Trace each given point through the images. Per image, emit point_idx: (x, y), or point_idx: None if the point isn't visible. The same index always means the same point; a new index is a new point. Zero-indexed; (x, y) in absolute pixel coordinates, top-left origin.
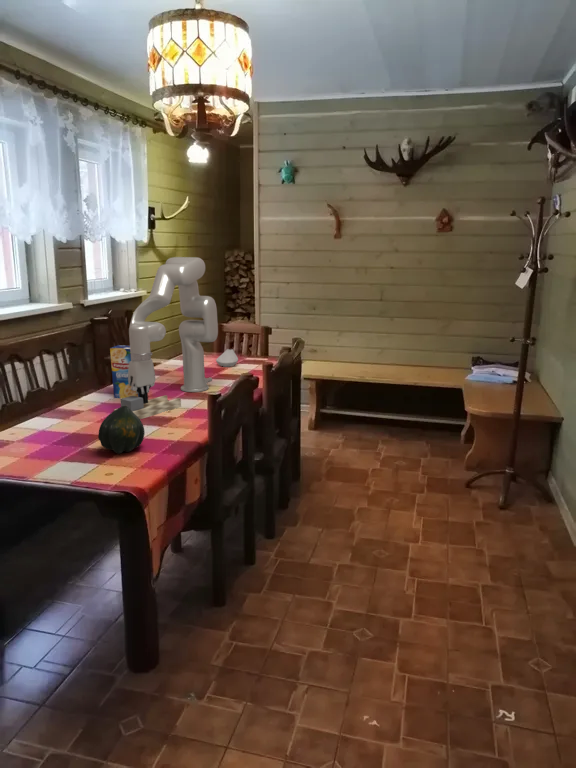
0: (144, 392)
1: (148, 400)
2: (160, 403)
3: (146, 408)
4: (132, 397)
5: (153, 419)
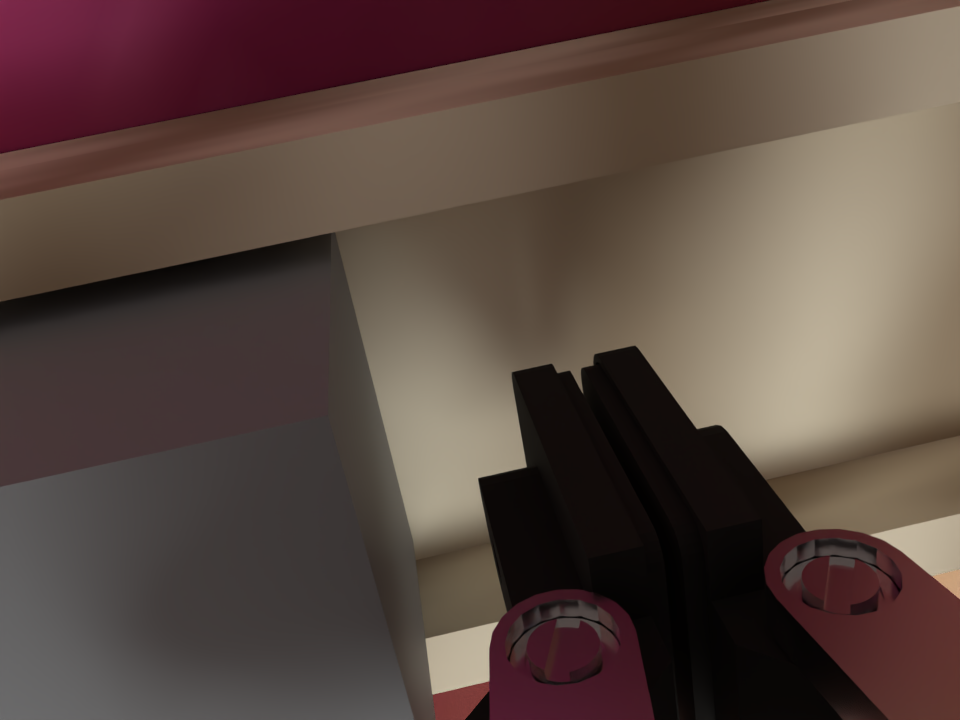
0: (723, 710)
1: (946, 64)
2: (907, 530)
3: (446, 686)
4: (180, 647)
5: (442, 711)
